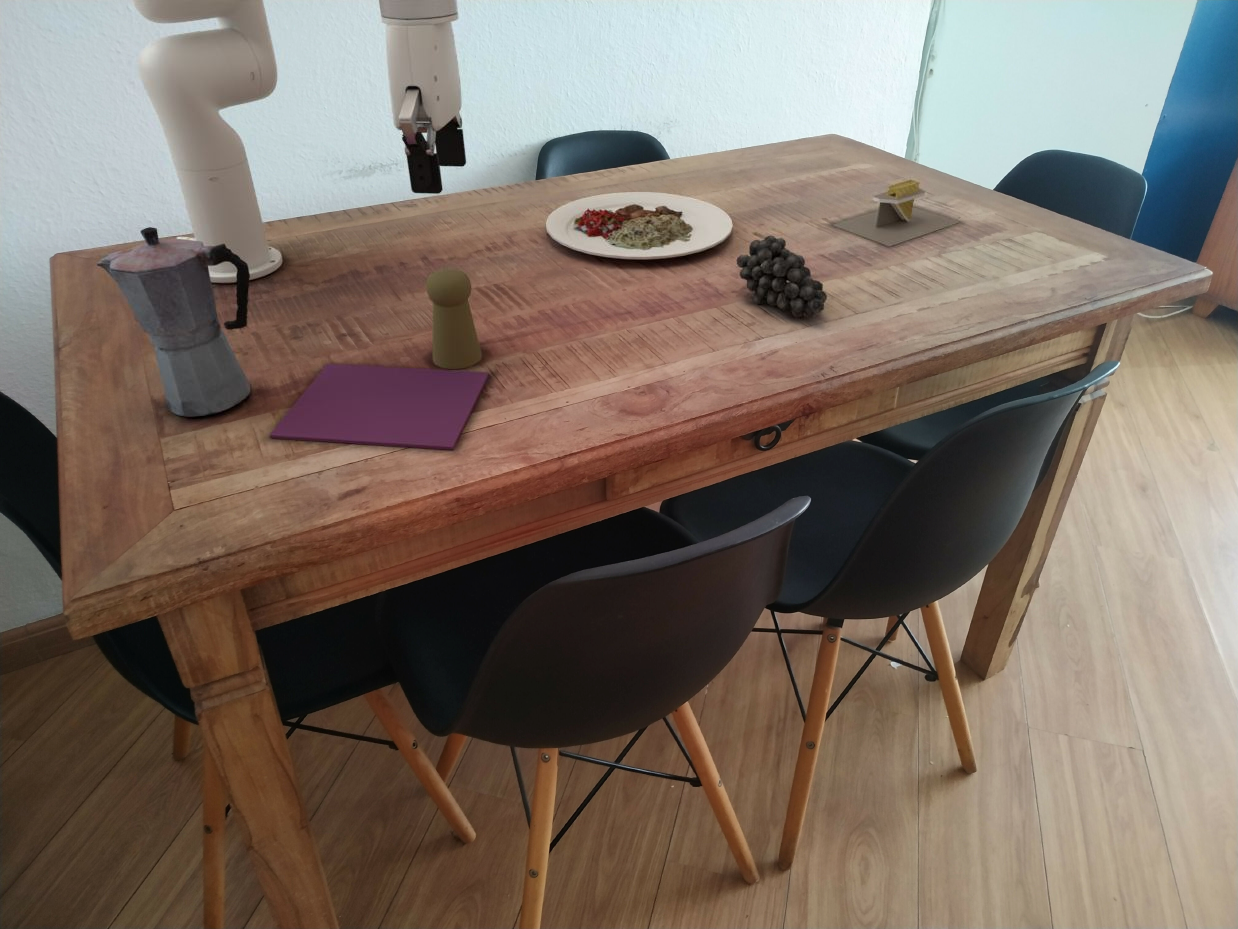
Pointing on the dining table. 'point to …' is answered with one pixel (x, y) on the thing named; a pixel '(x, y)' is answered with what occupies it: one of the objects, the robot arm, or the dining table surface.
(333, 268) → the dining table surface
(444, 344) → the pepper mill
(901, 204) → the platform
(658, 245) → the plated food
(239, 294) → the moka pot
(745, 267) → the fruit
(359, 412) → the placemat
